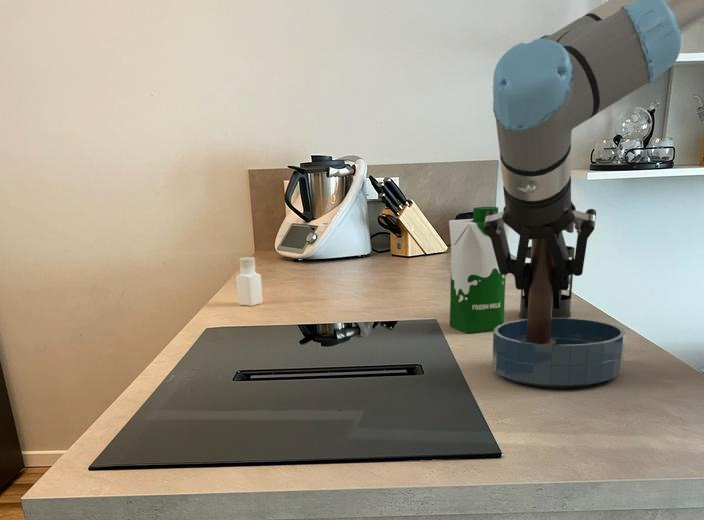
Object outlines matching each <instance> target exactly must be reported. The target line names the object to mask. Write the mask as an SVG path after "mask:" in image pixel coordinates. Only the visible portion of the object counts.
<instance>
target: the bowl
mask: <svg viewBox="0 0 704 520" xmlns="http://www.w3.org/2000/svg"><path fill="white" fill-rule="evenodd" d="M626 334H627V333H626V331H625V329H624V328H622V327H620V326H618V325H616V324H613V323H610V322H605V321H600V320H595V319H588V318H587V319H586V318H576V317H569V318H552V319H551V334H550V339H553V340H555V341H556V344H538V343H530V342H523V341H521V340H522V339H525V338H526V335H527V319H524V318H522V319H516V320H512V321H507V322H504V323H503V324H501V325H498V326H497V327H496V328H494V331H493V334H492V335H493V336H492V337H493V338H492V341H493V342H492V363H491V369H492V371H493V372H495V374H497V375H499V376H501V377H503V378H505V379H509V380H510V381H513V382H516V383H518V384H522V385H527V386H531V387H532V386H533V387H539V388H551V389H571V388H572V389H573V388H582V387H583V388H584V387H588V386H589V387H590V386H595V385H597V384H600V383H603V382H605V381H606V382H607V381H611V380H613V379H614V378H616V377H619V376H620V374H621V373H622V372H623V364H624V363H623V362H624V352H625V344H626V343H625V342H626Z"/></svg>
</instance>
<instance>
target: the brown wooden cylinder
mask: <svg viewBox="0 0 704 520" xmlns="http://www.w3.org/2000/svg"><path fill="white" fill-rule="evenodd" d="M530 246H531V258H530V262H529V263H530V281H529V299H528V317H527V335H526V338H525V339H522V340H521V341H523V342H530V343H538V344H556V341H555V340H553V339H550V334H551V319H552V304H553V275H554V268H555V263H554V260H553V257H552V253H551V250H550V247H548V245H547V242H546V240H545V239H539V238H538V239H532V240H531V245H530Z"/></svg>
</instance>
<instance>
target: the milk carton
mask: <svg viewBox="0 0 704 520" xmlns="http://www.w3.org/2000/svg"><path fill="white" fill-rule="evenodd" d="M489 210H492V211H495V212H496V214H497V213H499V207H498V206H477V207H473V209H472V218H467V219H452V220H451V219H450V220H448V226H449V236H450V294H449V295H450V296H449V297H450V299H449V327H451V328H454V329H455V330H458V331H460V332H463V333H465V334H476V333H485V332H494V328H496V327H497V326H498V325H501V324H503V323H505V305H506V303H505V301H506V300H505V299H506V278H507V277H506V276H507V275H502V274H500V272H499V268H498V264H497V261H496V257H495V253H494V249H493V245H492V241H491V238H490V237H489V236H488V235H487V234H486V232H485V231H484V230H483V229H484V223H485V218H486V212H487V211H489ZM504 229H505V233H506V237H507V242H508V243H509V234H510V229H511V228H510V227H509V226H508V225H507V224H504Z"/></svg>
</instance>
